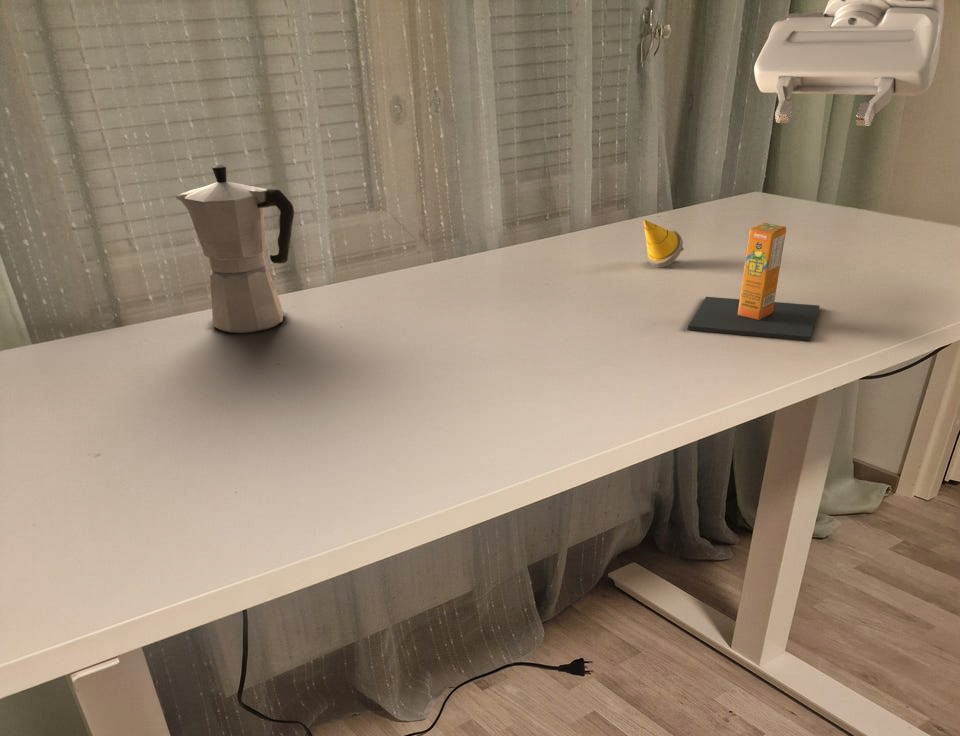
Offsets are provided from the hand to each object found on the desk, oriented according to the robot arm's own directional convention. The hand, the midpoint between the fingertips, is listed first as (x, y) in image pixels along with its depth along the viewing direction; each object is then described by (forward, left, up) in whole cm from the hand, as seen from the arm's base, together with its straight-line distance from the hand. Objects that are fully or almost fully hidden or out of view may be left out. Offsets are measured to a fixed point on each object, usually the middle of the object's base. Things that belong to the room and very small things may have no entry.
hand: (821, 121), depth 101 cm
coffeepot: (+63, +30, -20) cm, 72 cm away
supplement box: (+3, +12, -19) cm, 23 cm away
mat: (+3, +12, -19) cm, 23 cm away
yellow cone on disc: (+19, -8, -20) cm, 28 cm away
